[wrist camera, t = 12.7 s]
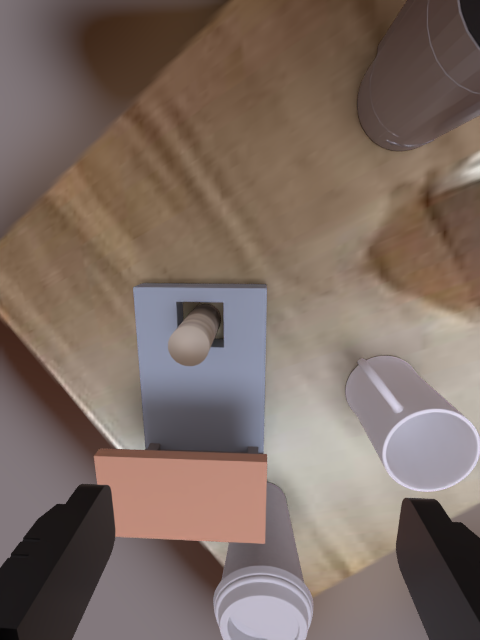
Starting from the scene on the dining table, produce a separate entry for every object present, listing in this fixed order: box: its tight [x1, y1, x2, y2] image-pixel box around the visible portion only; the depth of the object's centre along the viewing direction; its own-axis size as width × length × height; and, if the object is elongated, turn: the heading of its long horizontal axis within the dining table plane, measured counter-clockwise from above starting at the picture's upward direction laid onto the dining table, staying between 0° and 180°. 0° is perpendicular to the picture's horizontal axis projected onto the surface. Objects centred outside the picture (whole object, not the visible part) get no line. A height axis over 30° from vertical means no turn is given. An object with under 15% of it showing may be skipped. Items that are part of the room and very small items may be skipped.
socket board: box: [94, 283, 267, 544], centre depth 34 cm, size 20×14×14 cm
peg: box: [168, 303, 221, 366], centre depth 34 cm, size 4×4×10 cm
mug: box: [345, 356, 480, 492], centre depth 34 cm, size 12×8×12 cm
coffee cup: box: [213, 482, 313, 640], centre depth 38 cm, size 10×10×15 cm
